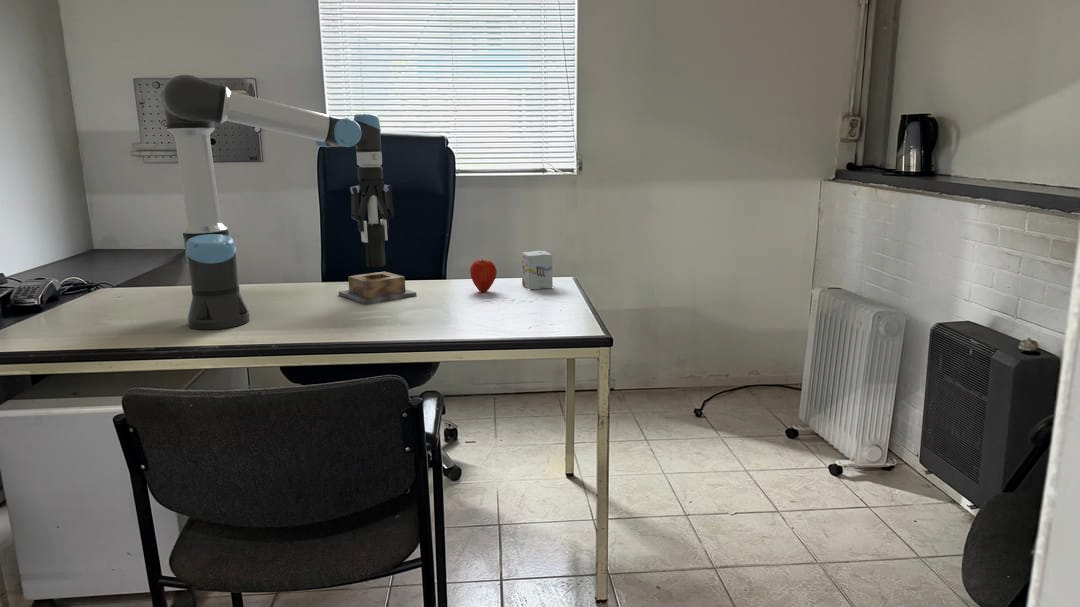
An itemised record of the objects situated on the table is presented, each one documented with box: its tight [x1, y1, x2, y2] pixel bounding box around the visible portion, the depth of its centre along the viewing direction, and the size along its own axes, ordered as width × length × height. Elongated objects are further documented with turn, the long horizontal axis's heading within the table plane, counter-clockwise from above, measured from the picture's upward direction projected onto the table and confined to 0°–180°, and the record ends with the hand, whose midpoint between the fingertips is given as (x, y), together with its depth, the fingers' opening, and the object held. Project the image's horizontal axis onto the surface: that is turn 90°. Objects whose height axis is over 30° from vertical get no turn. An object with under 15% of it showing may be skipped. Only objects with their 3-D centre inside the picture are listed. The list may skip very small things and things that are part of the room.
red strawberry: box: [469, 258, 498, 293], centre depth 223 cm, size 9×8×11 cm
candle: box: [364, 195, 387, 268], centre depth 214 cm, size 5×5×25 cm
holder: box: [338, 271, 418, 305], centre depth 219 cm, size 18×18×6 cm
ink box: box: [521, 250, 554, 290], centre depth 230 cm, size 9×9×12 cm
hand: (374, 240), depth 215 cm, fingers closed on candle, 6 cm apart
